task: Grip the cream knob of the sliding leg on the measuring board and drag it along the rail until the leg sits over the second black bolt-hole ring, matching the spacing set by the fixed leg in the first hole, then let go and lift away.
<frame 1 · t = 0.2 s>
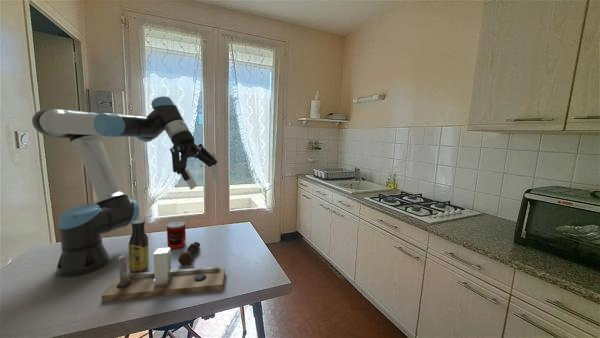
hand: (207, 183, 89), 35 cm above the table, tool tilted 35°, fingers open, 13 cm apart
canned food: (176, 246, 113), on the table
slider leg: (162, 265, 82), point 8 cm above the table, slide at 0.0 cm
measuring board: (169, 286, 83), on the table
sauce bottle: (139, 271, 92), on the table
bolt: (191, 257, 104), on the table
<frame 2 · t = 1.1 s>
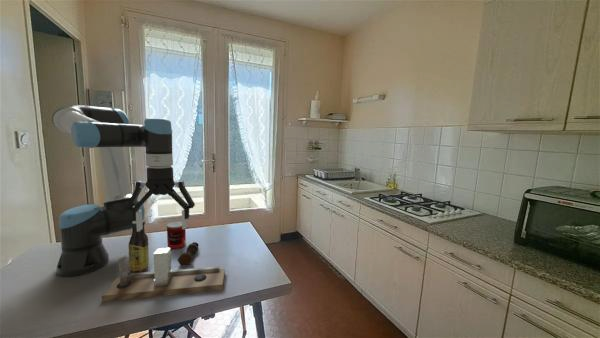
hand: (162, 228, 81), 21 cm above the table, tool pointing down, fingers open, 13 cm apart
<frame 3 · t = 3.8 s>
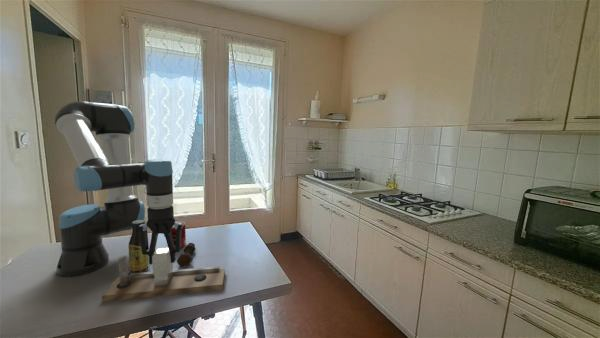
hand: (163, 271, 82), 6 cm above the table, tool pointing down, fingers closed on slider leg, 4 cm apart
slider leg: (162, 265, 82), point 8 cm above the table, slide at 0.0 cm, touching gripper
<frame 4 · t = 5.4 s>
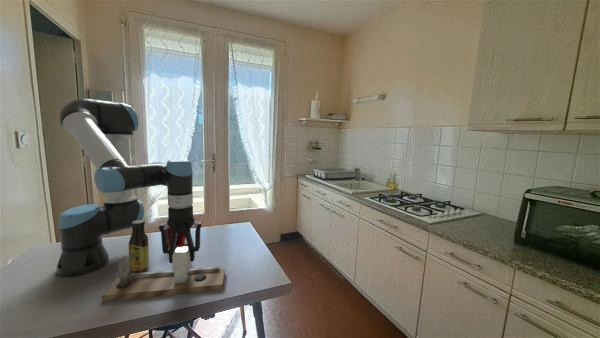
hand: (182, 270, 84), 6 cm above the table, tool pointing down, fingers closed on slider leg, 4 cm apart
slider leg: (182, 264, 83), point 8 cm above the table, slide at 6.2 cm, touching gripper
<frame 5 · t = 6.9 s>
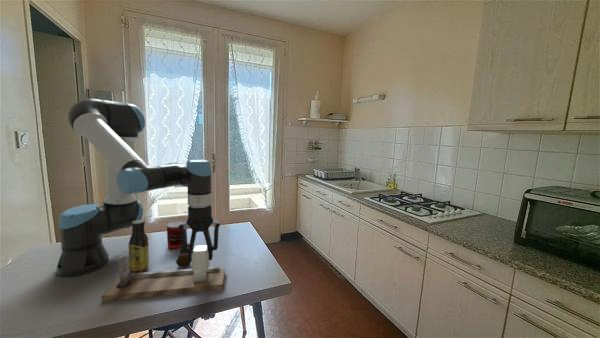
hand: (200, 268, 85), 6 cm above the table, tool pointing down, fingers closed on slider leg, 4 cm apart
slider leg: (200, 262, 85), point 8 cm above the table, slide at 12.2 cm, touching gripper
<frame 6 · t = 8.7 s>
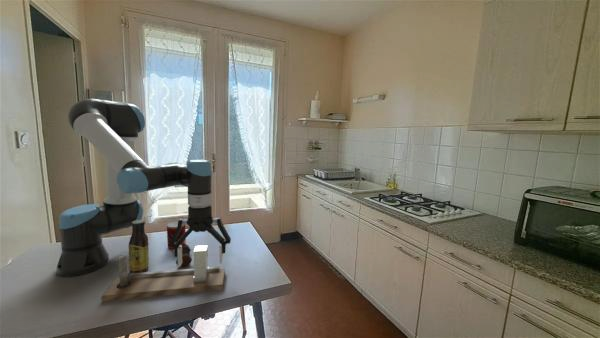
hand: (201, 263, 85), 8 cm above the table, tool pointing down, fingers open, 13 cm apart
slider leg: (200, 262, 85), point 8 cm above the table, slide at 12.3 cm
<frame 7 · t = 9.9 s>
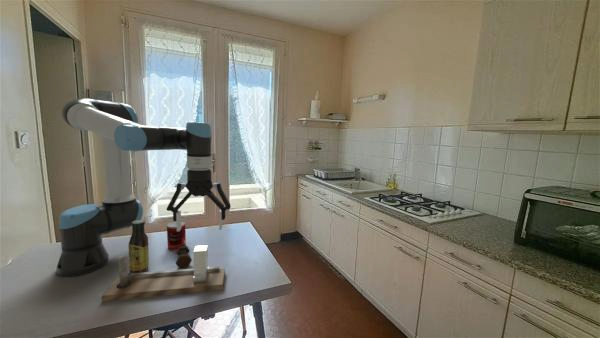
hand: (200, 229, 83), 20 cm above the table, tool pointing down, fingers open, 13 cm apart
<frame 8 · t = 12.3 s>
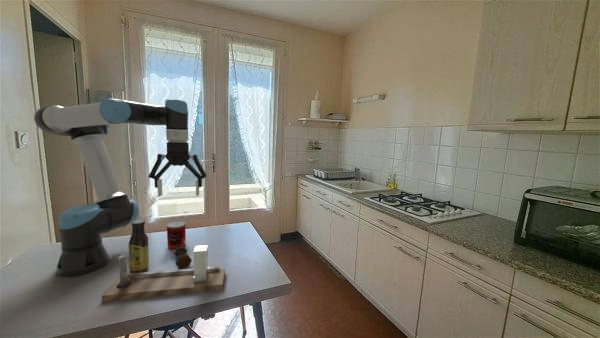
hand: (179, 195, 94), 29 cm above the table, tool pointing down, fingers open, 13 cm apart
at the end: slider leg slide at 12.3 cm; the gripper is holding nothing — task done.
